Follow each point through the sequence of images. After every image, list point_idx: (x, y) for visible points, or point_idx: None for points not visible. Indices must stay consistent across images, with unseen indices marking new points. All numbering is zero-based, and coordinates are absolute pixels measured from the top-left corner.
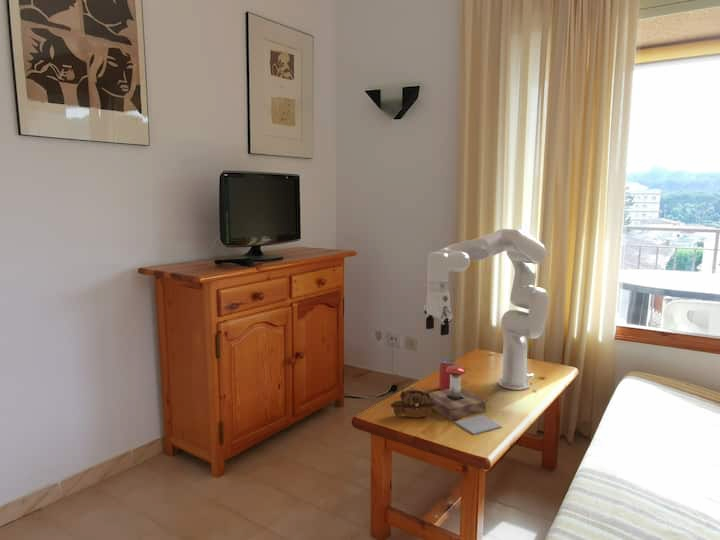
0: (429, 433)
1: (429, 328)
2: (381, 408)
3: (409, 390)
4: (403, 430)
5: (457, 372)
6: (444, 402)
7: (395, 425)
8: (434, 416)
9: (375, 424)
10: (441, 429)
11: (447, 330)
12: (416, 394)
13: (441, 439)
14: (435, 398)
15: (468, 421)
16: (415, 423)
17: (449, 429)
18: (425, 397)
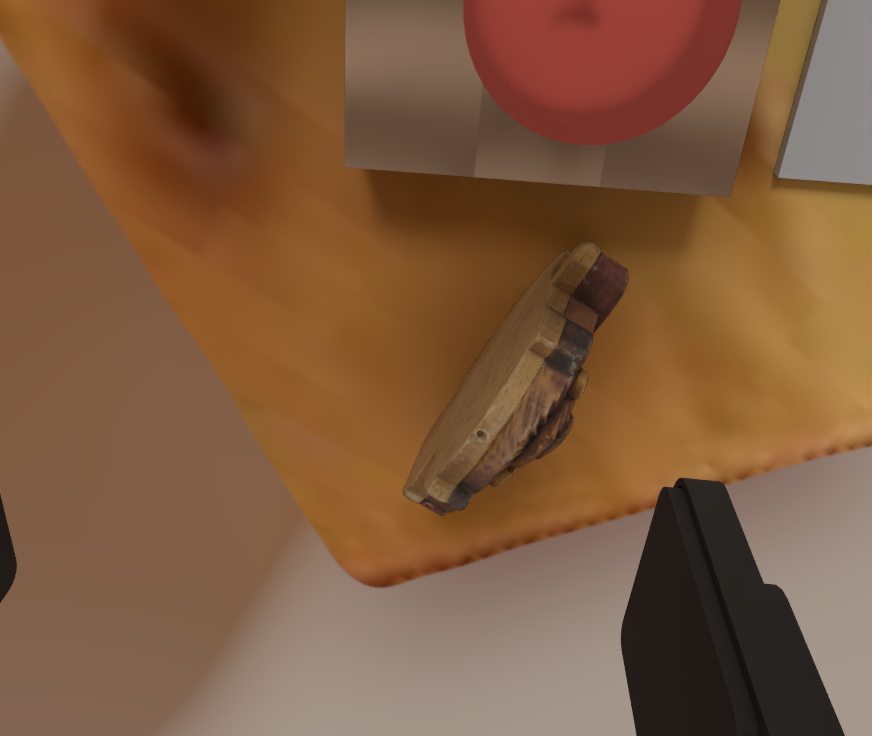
0: (757, 404)
1: (2, 527)
2: (289, 434)
3: (483, 477)
4: (625, 491)
5: (705, 75)
6: (598, 148)
7: (545, 491)
8: (588, 227)
9: (471, 560)
10: (771, 314)
11: (793, 644)
12: (546, 446)
13: (864, 395)
14: (482, 157)
15: (853, 86)
16: (595, 392)
17: (810, 272)
18: (587, 377)
